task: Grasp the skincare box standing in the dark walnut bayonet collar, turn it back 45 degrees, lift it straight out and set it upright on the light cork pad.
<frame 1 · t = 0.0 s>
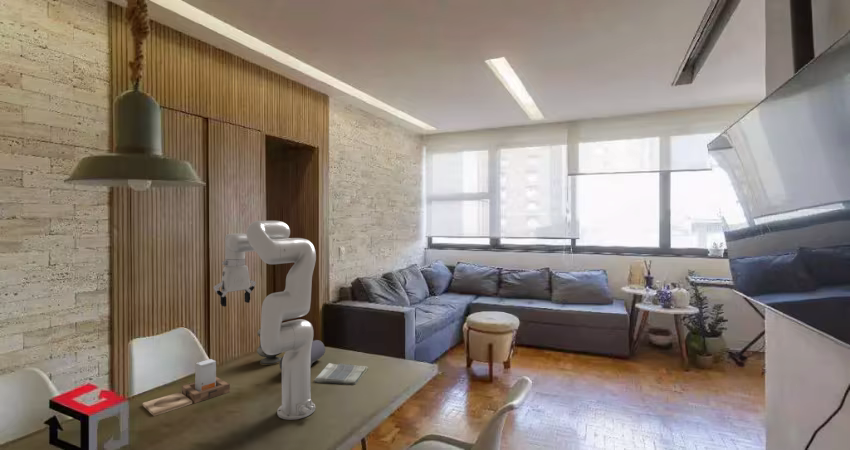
hand: (235, 304, 169), 31 cm above the table, tool pointing down, fingers open, 9 cm apart
bluetooth speaker: (303, 368, 181), on the table
skincare box: (205, 393, 155), resting in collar
dish towel: (342, 376, 173), on the table
pad: (167, 404, 146), on the table
apothecary jar: (271, 361, 190), on the table
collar: (205, 392, 155), on the table
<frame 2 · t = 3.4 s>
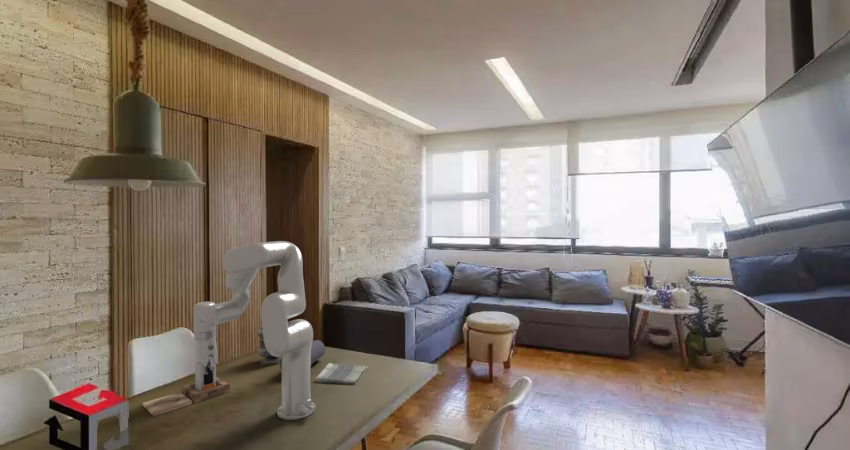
hand: (205, 381, 155), 4 cm above the table, tool pointing down, fingers closed on skincare box, 4 cm apart
skincare box: (205, 393, 155), resting in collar, touching gripper
everything else where it was.
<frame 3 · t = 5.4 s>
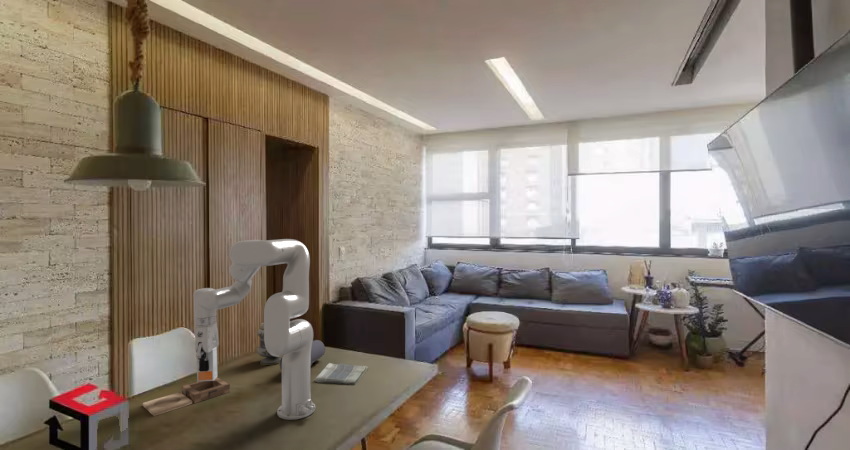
hand: (207, 368, 155), 10 cm above the table, tool pointing down, fingers closed on skincare box, 4 cm apart
skincare box: (207, 380, 155), point 5 cm above the table, touching gripper
everything else where it was.
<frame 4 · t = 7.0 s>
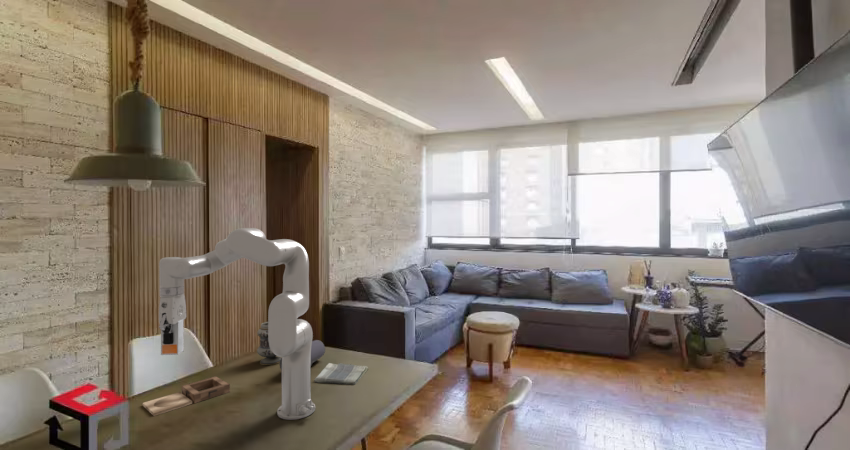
hand: (172, 341, 147), 22 cm above the table, tool pointing down, fingers closed on skincare box, 4 cm apart
skincare box: (172, 353, 147), point 18 cm above the table, touching gripper
everything else where it was.
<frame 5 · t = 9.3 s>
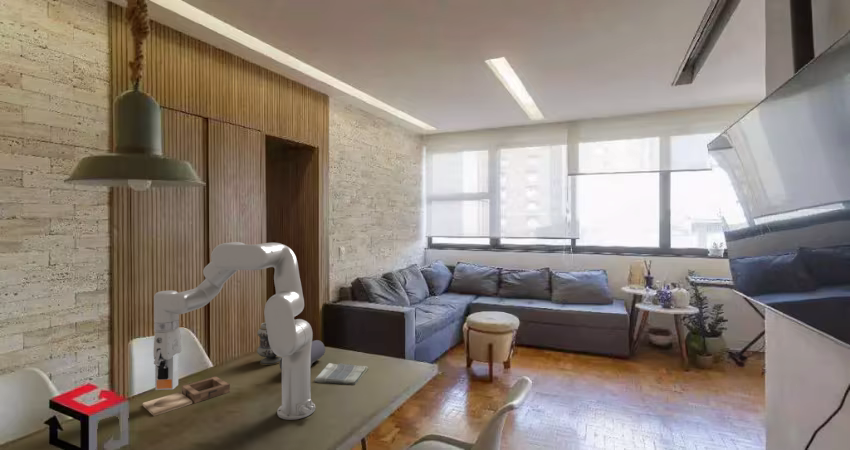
hand: (167, 375, 145), 10 cm above the table, tool pointing down, fingers closed on skincare box, 4 cm apart
skincare box: (167, 388, 145), point 6 cm above the table, touching gripper
everything else where it was.
when the fingers open (6 cm above the table, at t = 10.9 s): skincare box stays where it is, resting on pad.
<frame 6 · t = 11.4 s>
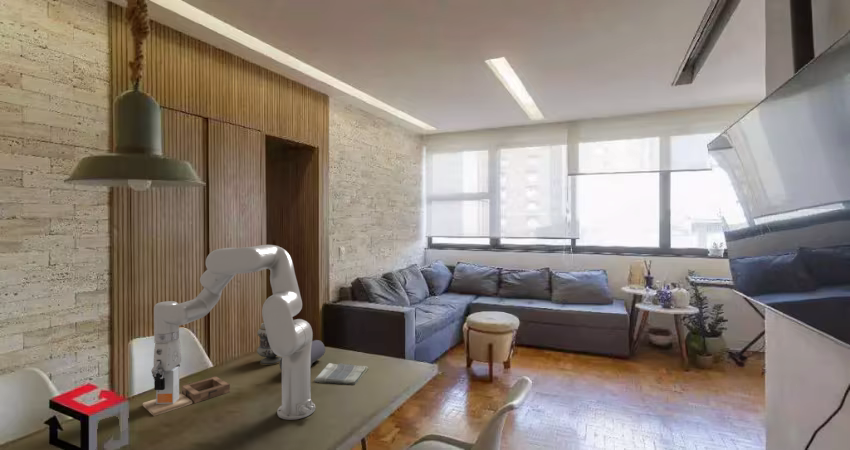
hand: (167, 384, 145), 7 cm above the table, tool pointing down, fingers open, 9 cm apart
skincare box: (167, 402, 145), point 1 cm above the table, touching pad
everything else where it was.
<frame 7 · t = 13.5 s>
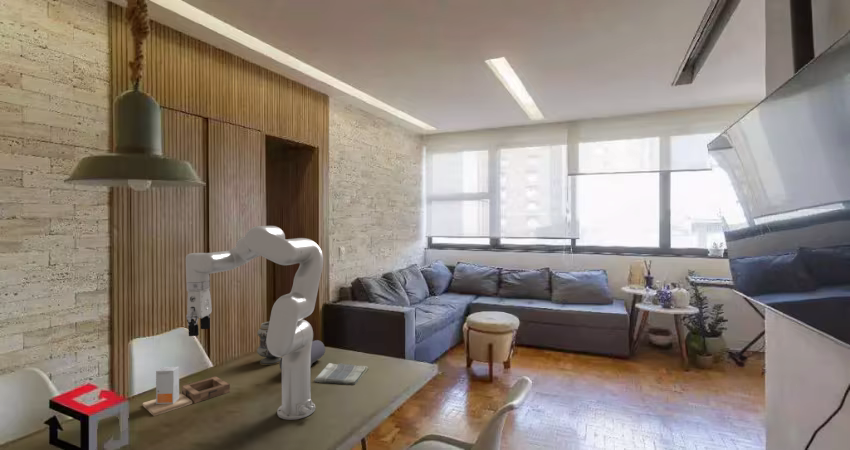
hand: (199, 332, 150), 25 cm above the table, tool pointing down, fingers open, 9 cm apart
nothing on the table moved.
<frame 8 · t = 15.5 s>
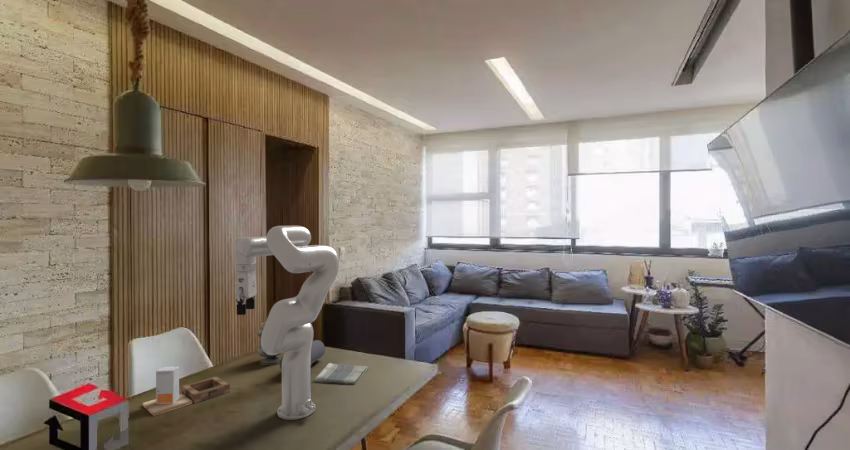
hand: (245, 311, 159), 30 cm above the table, tool pointing down, fingers open, 9 cm apart
nothing on the table moved.
at the end: skincare box inside the target area on the pad (0.2 cm from its centre), point 0.9 cm above the pad's base; skincare box tilted 0°; the gripper is holding nothing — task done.
